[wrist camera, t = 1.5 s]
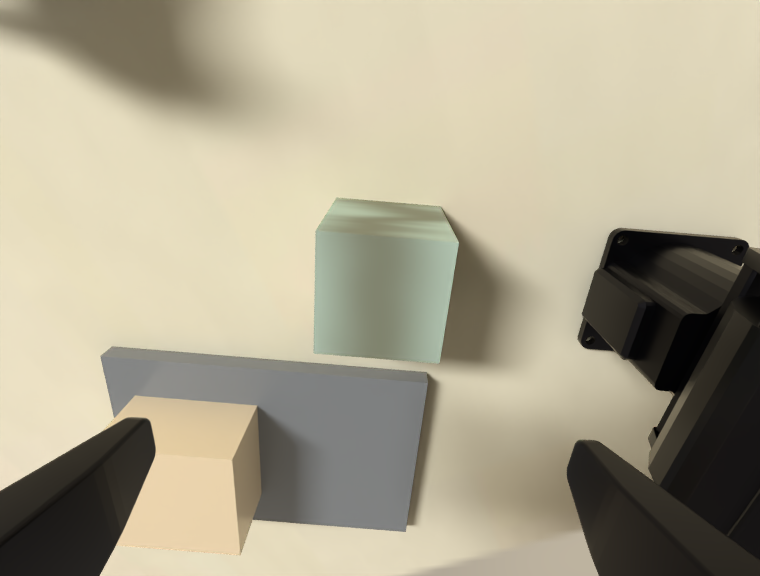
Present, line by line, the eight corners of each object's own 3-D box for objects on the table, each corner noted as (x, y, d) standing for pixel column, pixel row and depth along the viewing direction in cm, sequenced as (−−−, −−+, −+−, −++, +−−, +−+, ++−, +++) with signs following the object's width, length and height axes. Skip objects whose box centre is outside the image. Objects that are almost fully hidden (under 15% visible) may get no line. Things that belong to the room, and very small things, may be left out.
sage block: (440, 206, 20) (458, 242, 14) (427, 300, 22) (439, 363, 16) (336, 197, 20) (315, 230, 14) (333, 292, 22) (313, 353, 16)
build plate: (426, 372, 23) (434, 435, 19) (405, 518, 28) (407, 596, 24) (111, 346, 23) (43, 403, 19) (143, 497, 28) (94, 572, 24)
